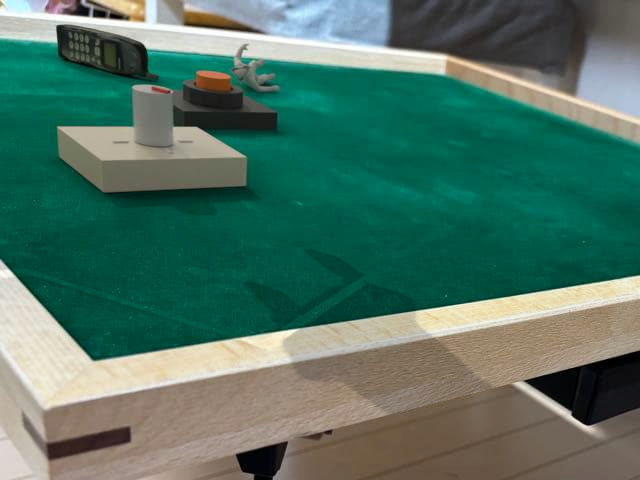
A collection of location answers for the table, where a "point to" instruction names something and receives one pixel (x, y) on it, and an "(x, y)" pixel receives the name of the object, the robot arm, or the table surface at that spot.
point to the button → (213, 81)
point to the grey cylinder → (153, 115)
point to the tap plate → (150, 160)
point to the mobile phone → (103, 50)
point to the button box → (220, 109)
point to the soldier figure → (251, 73)
